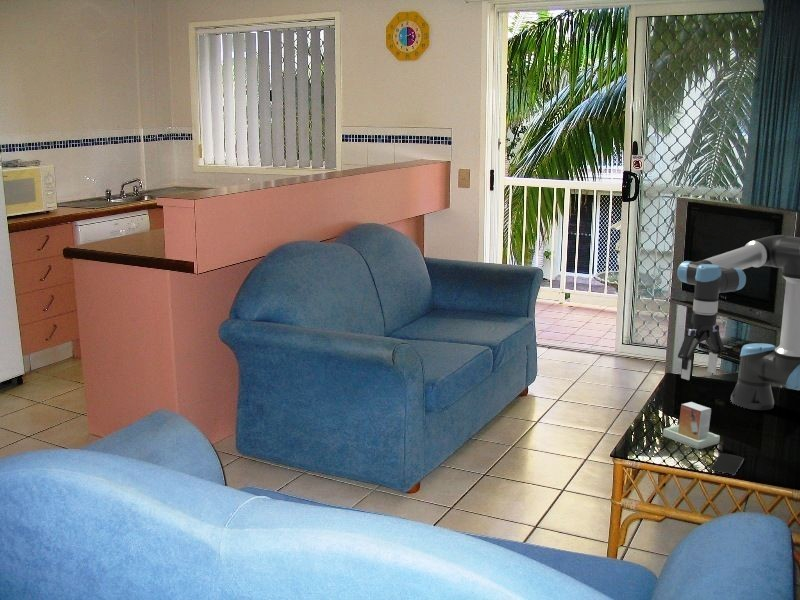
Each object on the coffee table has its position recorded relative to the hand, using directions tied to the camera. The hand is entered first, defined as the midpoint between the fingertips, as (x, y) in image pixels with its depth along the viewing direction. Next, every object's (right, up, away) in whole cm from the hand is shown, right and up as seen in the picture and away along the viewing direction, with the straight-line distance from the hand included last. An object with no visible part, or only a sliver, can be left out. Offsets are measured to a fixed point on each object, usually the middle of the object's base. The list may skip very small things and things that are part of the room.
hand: (698, 375), depth 284 cm
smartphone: (+3, -27, -17) cm, 32 cm away
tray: (-1, -22, +4) cm, 22 cm away
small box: (0, -21, +4) cm, 21 cm away
